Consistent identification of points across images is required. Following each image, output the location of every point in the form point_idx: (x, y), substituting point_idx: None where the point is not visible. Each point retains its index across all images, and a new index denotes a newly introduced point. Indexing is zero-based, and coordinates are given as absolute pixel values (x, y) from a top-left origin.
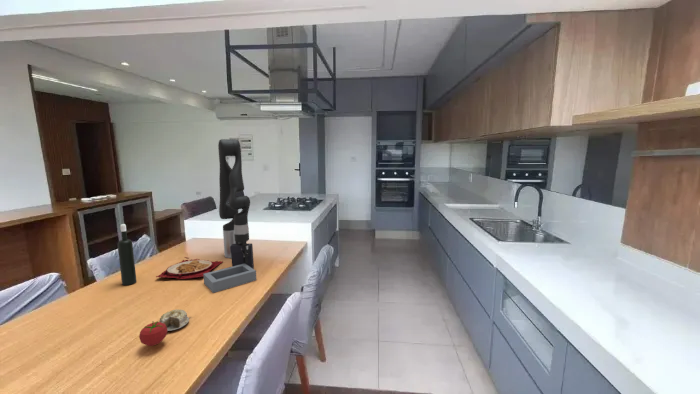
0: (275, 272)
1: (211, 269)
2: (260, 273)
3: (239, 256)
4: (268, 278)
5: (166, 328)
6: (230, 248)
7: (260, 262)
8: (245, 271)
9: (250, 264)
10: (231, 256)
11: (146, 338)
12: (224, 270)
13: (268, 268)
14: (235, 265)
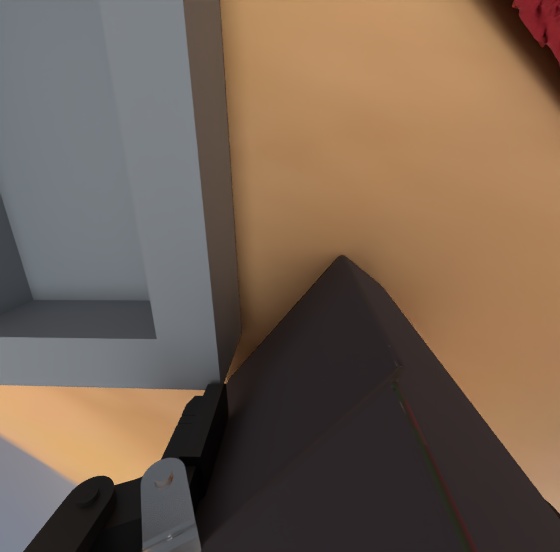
0: (100, 471)
1: (546, 42)
2: (139, 401)
3: (271, 428)
4: (15, 399)
5: None
6: (445, 547)
7: None
8: (94, 317)
9: None
10: (377, 331)
11: None
12: (114, 84)
13: None
14: (319, 302)
